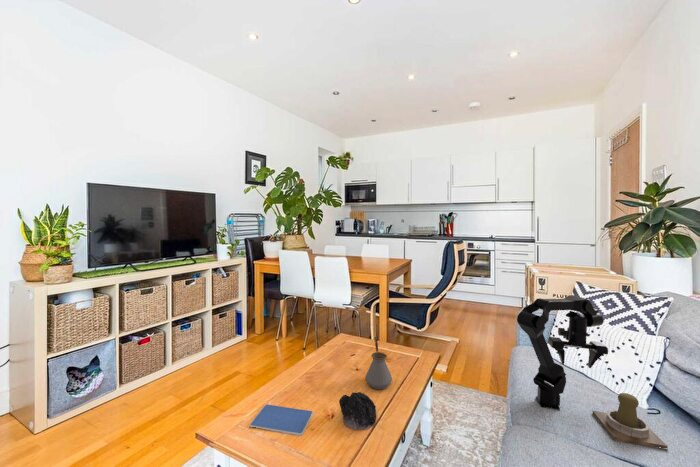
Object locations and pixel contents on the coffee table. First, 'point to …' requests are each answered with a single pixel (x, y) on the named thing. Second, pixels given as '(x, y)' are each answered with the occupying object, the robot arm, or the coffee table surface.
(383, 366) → the coffee pot
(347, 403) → the black rough lump
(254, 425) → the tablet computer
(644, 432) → the spacer seat
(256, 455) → the coffee table surface
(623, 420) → the cork
